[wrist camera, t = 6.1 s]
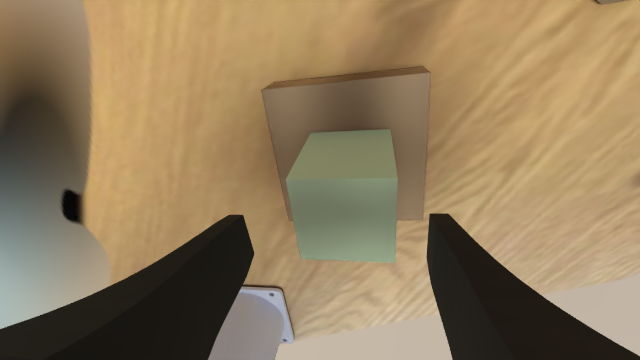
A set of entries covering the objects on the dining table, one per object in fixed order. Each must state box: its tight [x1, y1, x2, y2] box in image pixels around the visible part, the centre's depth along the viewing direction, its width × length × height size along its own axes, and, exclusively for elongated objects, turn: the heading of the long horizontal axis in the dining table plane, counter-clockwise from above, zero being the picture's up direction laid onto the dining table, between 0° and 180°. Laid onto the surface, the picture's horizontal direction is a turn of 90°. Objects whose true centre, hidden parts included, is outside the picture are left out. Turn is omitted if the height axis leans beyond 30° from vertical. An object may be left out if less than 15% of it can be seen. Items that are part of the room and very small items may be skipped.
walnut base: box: [261, 66, 431, 221], centre depth 18 cm, size 9×9×3 cm
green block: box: [286, 129, 398, 263], centre depth 15 cm, size 4×4×6 cm
